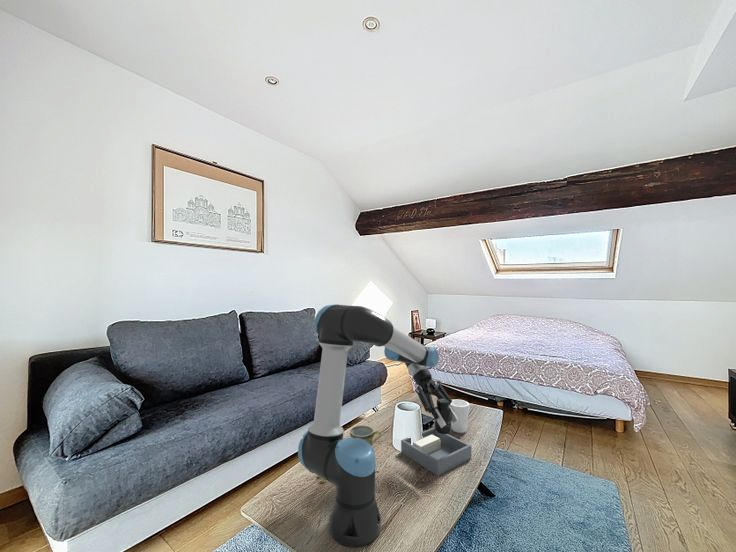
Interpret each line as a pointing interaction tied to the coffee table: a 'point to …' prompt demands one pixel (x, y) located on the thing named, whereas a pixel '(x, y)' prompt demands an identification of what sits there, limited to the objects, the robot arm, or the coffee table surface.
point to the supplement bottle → (443, 416)
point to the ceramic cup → (364, 433)
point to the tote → (438, 452)
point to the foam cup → (460, 415)
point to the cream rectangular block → (428, 444)
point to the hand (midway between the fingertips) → (449, 423)
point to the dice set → (322, 479)
